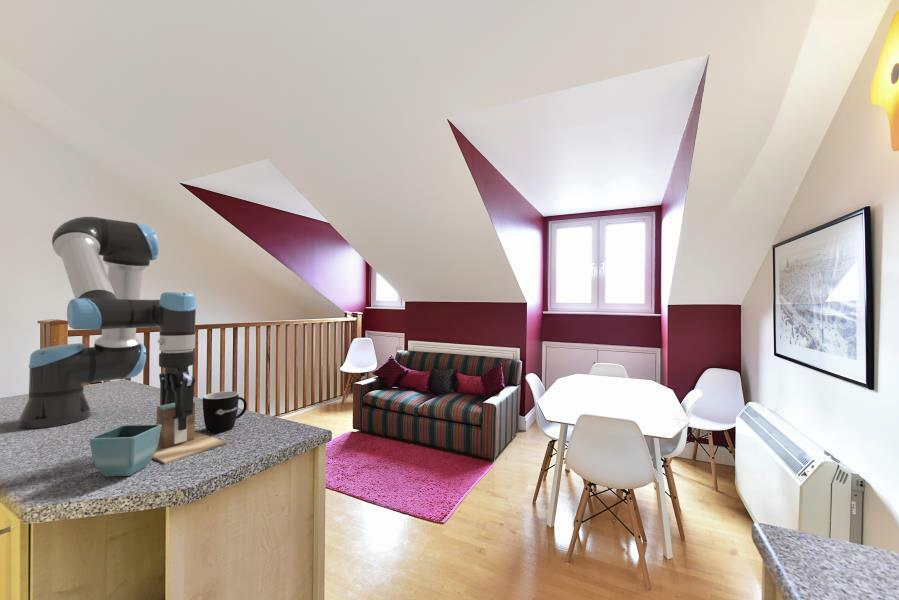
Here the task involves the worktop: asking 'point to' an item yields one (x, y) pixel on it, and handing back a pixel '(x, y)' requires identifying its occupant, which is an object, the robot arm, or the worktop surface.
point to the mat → (187, 448)
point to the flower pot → (125, 449)
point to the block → (172, 425)
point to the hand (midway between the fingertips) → (175, 440)
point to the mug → (221, 410)
